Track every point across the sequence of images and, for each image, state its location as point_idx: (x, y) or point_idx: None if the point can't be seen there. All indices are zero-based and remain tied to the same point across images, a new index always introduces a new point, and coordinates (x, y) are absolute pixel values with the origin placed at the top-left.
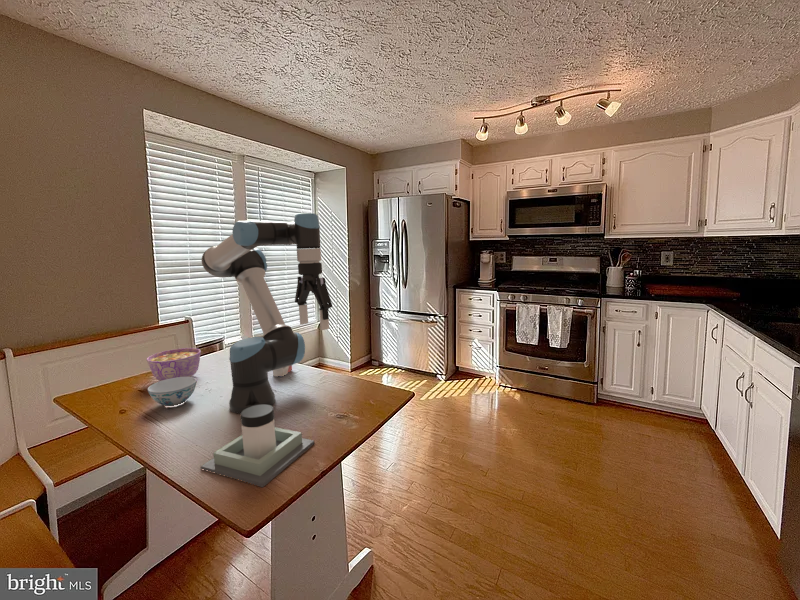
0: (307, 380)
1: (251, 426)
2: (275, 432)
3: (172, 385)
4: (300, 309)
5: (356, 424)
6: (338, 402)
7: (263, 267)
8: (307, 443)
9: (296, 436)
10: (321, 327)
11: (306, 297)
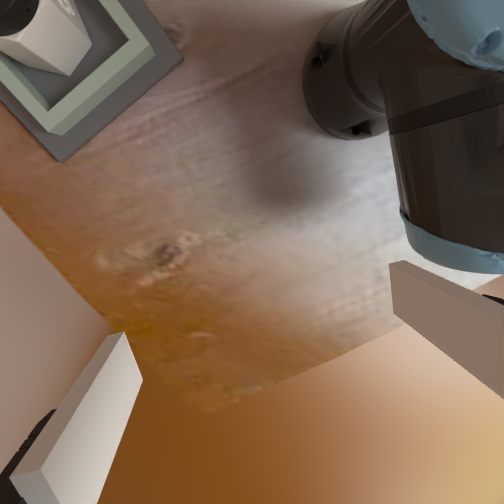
0: None
1: None
2: (36, 59)
3: None
4: (483, 316)
5: (110, 269)
6: (241, 272)
7: None
8: (52, 145)
9: (33, 115)
10: (101, 346)
11: None
